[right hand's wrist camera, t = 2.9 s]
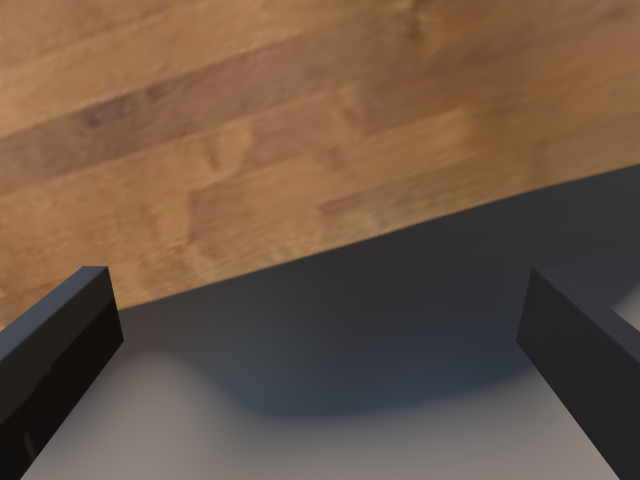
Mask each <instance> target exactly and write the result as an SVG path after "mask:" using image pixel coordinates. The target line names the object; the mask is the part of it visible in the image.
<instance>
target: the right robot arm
mask: <svg viewBox="0 0 640 480" xmlns="http://www.w3.org/2000/svg"><path fill="white" fill-rule="evenodd" d="M123 341H124V339H123V334H122V330H121V325H120V321H119V316H118V311H117V307H116V302H115V297H114V293H113V288H112V283H111V279H110V274H109V270H108V266H83V267H82V268H80V269H79V270H78V271H77V272H75V273H74V274H73V275H72V276H70V277H69V278H68V279H66V280H65V281H64V282H63V283H61V284H60V285H59V286H58V287H56V288H55V289H54V290H53V291H51V292H50V293H49V294H47V295H46V296H45V297H44V298H42V299H41V300H40V301H39V302H37V303H36V304H35V305H34V306H32V307H31V308H30V309H29V310H27V311H26V312H25V313H23V314H22V315H21V316H20V317H18V318H17V319H16V320H15V321H13V322H12V323H11V324H10V325H8V326H7V327H6V328H5V329H3V330H2V331H1V332H0V480H20V479H21V478H22V476H23V475H24V474H25V472H26V471H27V470H28V468H29V467H30V466H31V464H32V463H33V462H34V460H35V459H36V458H37V456H38V455H39V454H40V452H41V451H42V450H43V448H44V447H45V446H46V444H47V443H48V442H49V440H50V439H51V438H52V436H53V435H54V434H55V432H56V431H57V430H58V428H59V427H60V426H61V424H62V423H63V422H64V420H65V419H66V418H67V416H68V415H69V414H70V412H71V411H72V410H73V408H74V407H75V406H76V404H77V403H78V402H79V400H80V399H81V398H82V396H83V395H84V393H85V392H86V391H87V390H88V388H89V387H90V386H91V384H92V383H93V382H94V380H95V379H96V377H97V376H98V375H99V373H100V372H101V371H102V369H103V368H104V367H105V365H106V364H107V363H108V361H109V360H110V359H111V357H112V356H113V355H114V353H115V352H116V351H117V349H118V348H119V347H120V345H121V344H122V343H123ZM516 341H517V343H518V344H519V345H520V347H521V348H522V349H523V351H524V352H525V353H526V355H527V356H528V357H529V359H530V360H531V361H532V363H533V364H534V365H535V367H536V368H537V369H538V371H539V372H540V373H541V375H542V376H543V377H544V379H545V380H546V381H547V383H548V384H549V385H550V387H551V388H552V390H553V391H554V392H555V394H556V395H557V396H558V398H559V399H560V400H561V402H562V403H563V404H564V406H565V407H566V408H567V410H568V411H569V412H570V414H571V415H572V416H573V418H574V419H575V420H576V422H577V423H578V424H579V426H580V427H581V428H582V430H583V431H584V432H585V434H586V435H587V436H588V438H589V439H590V440H591V442H592V443H593V444H594V446H595V447H596V448H597V450H598V451H599V452H600V454H601V455H602V456H603V457H604V459H605V460H606V462H607V463H608V464H609V466H610V467H611V468H612V470H613V471H614V472H615V474H616V475H617V476H618V478H619V479H620V480H640V332H639V331H638V330H637V329H635V328H634V327H633V326H632V325H630V324H629V323H628V322H627V321H625V320H624V319H623V318H622V317H620V316H619V315H618V314H617V313H615V312H614V311H613V310H611V309H610V308H609V307H608V306H606V305H605V304H604V303H603V302H601V301H600V300H599V299H598V298H596V297H595V296H594V295H593V294H591V293H590V292H589V291H587V290H586V289H585V288H584V287H582V286H581V285H580V284H579V283H577V282H576V281H575V280H574V279H572V278H571V277H570V276H568V275H567V274H566V273H565V272H563V271H562V270H561V269H560V268H558V267H557V266H533V267H532V270H531V274H530V279H529V283H528V288H527V293H526V297H525V302H524V307H523V311H522V316H521V320H520V325H519V330H518V334H517V339H516Z"/></svg>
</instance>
